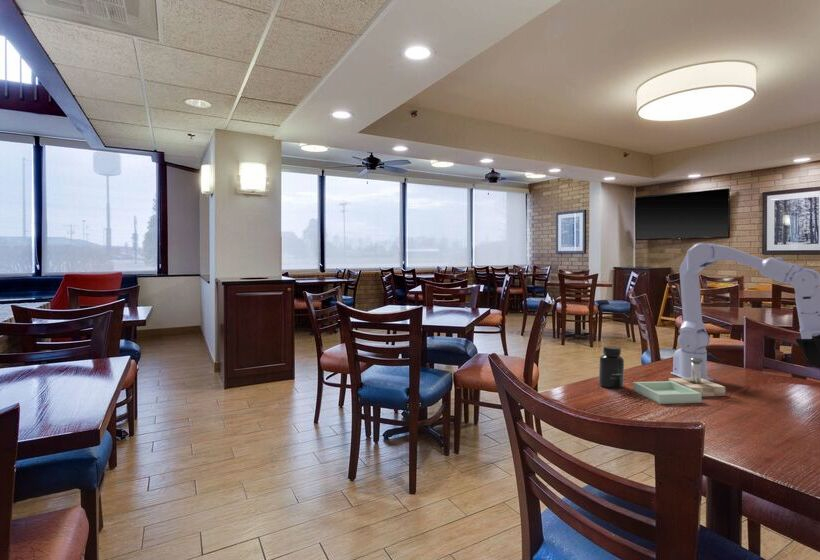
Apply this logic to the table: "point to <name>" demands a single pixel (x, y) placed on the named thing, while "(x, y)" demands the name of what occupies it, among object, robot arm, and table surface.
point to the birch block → (701, 386)
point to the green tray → (667, 392)
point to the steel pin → (696, 370)
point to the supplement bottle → (611, 368)
